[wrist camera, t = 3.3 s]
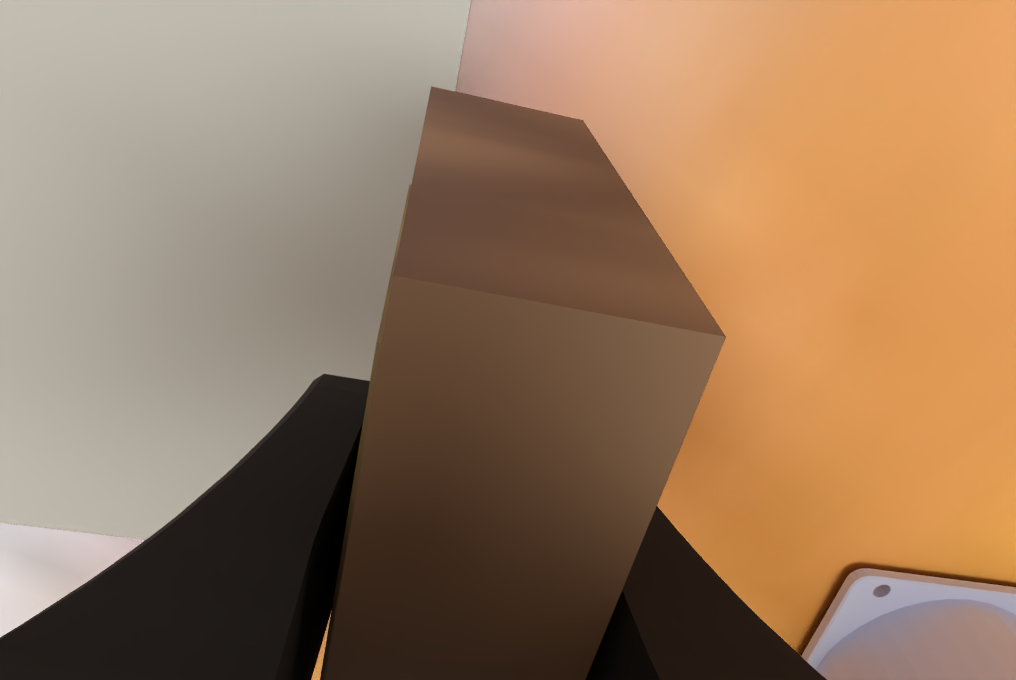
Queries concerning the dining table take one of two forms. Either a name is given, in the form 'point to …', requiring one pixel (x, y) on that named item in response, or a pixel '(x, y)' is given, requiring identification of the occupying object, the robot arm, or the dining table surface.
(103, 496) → the mat
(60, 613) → the robot arm
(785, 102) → the dining table surface
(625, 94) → the dining table surface
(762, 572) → the dining table surface
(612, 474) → the tile
